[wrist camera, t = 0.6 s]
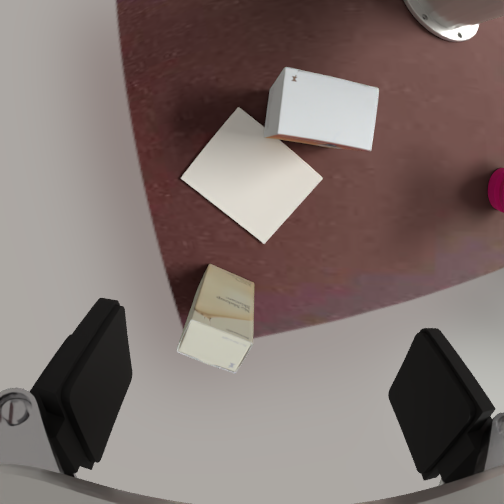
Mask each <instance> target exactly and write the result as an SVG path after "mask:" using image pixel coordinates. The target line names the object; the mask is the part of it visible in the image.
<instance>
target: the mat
mask: <svg viewBox="0 0 504 504" xmlns="http://www.w3.org/2000/svg"><path fill="white" fill-rule="evenodd" d="M264 129H265V128H264V127H263V126H262V125H261V124H260V123H258V122H257V121H256V120H255V119H253V118H252V117H251V116H250V115H248V114H247V113H246V112H245V111H243V110H242V109H241V108H239V107H238V108H237V109H236V110H235V112H234V113H233V114H232V115H231V116H230V117H229V119H228V120H227V121H226V122H225V123H224V124H223V126H222V127H221V128H220V129H219V130H218V132H217V133H216V134H215V135H214V137H213V138H212V139H211V140H210V141H209V143H208V144H207V145H206V146H205V148H204V149H203V150H202V151H201V153H200V154H199V155H198V156H197V158H196V159H195V160H194V161H193V163H192V164H191V165H190V167H189V168H188V169H187V171H186V172H185V173H184V174H183V176H182V177H181V179H182V180H183V181H185V182H186V183H187V184H188V185H190V186H191V187H192V188H194V189H195V190H196V191H197V192H199V193H200V194H201V195H203V196H204V197H205V198H206V199H208V200H209V201H210V202H212V203H213V204H214V205H215V206H217V207H218V208H219V209H221V210H222V211H223V212H224V213H226V214H227V215H228V216H229V217H231V218H232V219H233V220H235V221H236V222H237V223H238V224H240V225H241V226H242V227H243V228H245V229H246V230H247V231H249V232H250V233H251V234H252V235H254V236H255V237H256V238H257V239H259V240H260V241H261V242H262V243H264V244H265V242H266V241H267V240H268V239H269V238H270V237H271V236H272V235H273V234H274V232H275V231H276V230H277V229H278V228H279V227H280V226H281V225H282V224H283V222H284V221H285V220H286V219H287V218H288V217H289V216H290V215H291V213H292V212H293V211H294V210H295V209H296V208H297V207H298V206H299V205H300V203H301V202H302V201H303V200H304V199H305V198H306V197H307V196H308V194H309V193H310V192H311V191H312V190H313V189H314V188H315V187H316V186H317V184H318V183H319V182H320V181H321V180H322V179H323V178H322V177H321V176H320V175H319V174H318V173H317V172H316V171H315V170H313V169H312V168H311V167H310V166H309V165H308V164H307V163H306V162H304V161H303V160H302V159H301V158H300V157H299V156H298V155H296V154H295V153H294V152H293V151H292V150H291V149H290V148H288V147H287V146H286V145H285V144H284V143H282V142H281V141H280V140H279V139H270V138H264Z"/></svg>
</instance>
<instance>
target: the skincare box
mask: <svg viewBox="0 0 504 504" xmlns="http://www.w3.org/2000/svg"><path fill="white" fill-rule="evenodd" d="M253 321H254V283H253V282H251V281H248V280H246V279H244V278H242V277H239V276H237V275H235V274H232V273H230V272H228V271H226V270H223V269H221V268H218V267H216V266H214V265H211V264H209V265H208V267H207V269H206V271H205V273H204V275H203V277H202V280H201V282H200V284H199V286H198V289H197V292H196V294H195V297H194V300H193V303H192V306H191V309H190V312H189V315H188V318H187V321H186V324H185V326H184V329H183V333H182V336H181V338H180V341H179V344H178V347H177V352H178V353H181V354H183V355H186V356H188V357H191V358H193V359H196V360H199V361H201V362H203V363H206V364H209V365H212V366H215V367H218V368H220V369H223V370H226V371H230V372H232V373H236V372H237V370H238V369H239V367H240V365H241V364H242V362H243V361H244V359H245V358H246V356H247V354H248V353H249V351H250V349H251V347H252V345H253Z"/></svg>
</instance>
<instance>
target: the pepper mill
mask: <svg viewBox="0 0 504 504" xmlns="http://www.w3.org/2000/svg"><path fill="white" fill-rule="evenodd" d="M488 198H489V201H490V203H491V205H492V206H493V208H495V209H496V210H499V211H501V212H503V213H504V168H499V169H497V170H496V171H495V172H494V173H493V174H492V176H491V178H490V180H489V184H488Z"/></svg>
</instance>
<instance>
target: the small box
mask: <svg viewBox="0 0 504 504" xmlns="http://www.w3.org/2000/svg"><path fill="white" fill-rule="evenodd" d="M378 95H379V89H378V88H377V87H372V86H368V85H364V84H359V83H355V82H352V81H347V80H343V79H339V78H335V77H330V76H326V75H321V74H317V73H312V72H308V71H303V70H299V69H294V68H290V67H285V68H284V69H283V70H282V72H281V73H280V75H279V76H278V78H277V79H276V81H275V83H274V84H273V85H272V87H271V88H270V90H269V98H268V106H267V114H266V121H265V129H264V138H270V139H279V140H287V141H293V142H300V143H305V144H311V145H317V146H322V147H328V148H339V149H351V150H360V151H371V148H372V142H373V135H374V128H375V120H376V113H377V104H378Z"/></svg>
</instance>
